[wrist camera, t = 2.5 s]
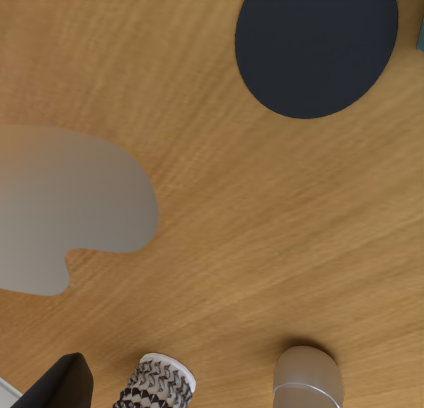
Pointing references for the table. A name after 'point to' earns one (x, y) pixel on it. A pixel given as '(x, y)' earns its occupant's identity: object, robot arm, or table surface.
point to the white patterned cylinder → (158, 384)
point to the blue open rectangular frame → (421, 38)
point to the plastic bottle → (307, 380)
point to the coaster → (313, 52)
